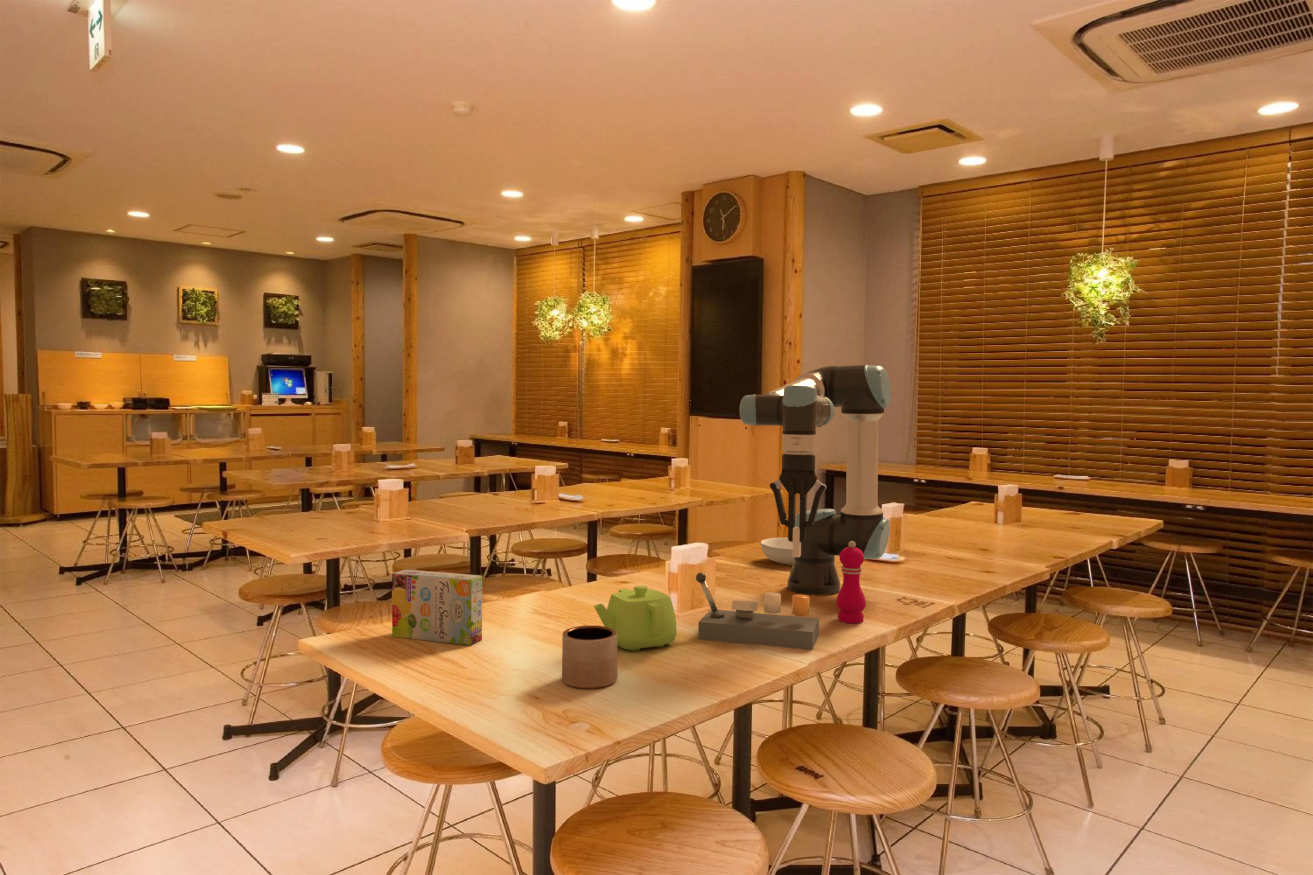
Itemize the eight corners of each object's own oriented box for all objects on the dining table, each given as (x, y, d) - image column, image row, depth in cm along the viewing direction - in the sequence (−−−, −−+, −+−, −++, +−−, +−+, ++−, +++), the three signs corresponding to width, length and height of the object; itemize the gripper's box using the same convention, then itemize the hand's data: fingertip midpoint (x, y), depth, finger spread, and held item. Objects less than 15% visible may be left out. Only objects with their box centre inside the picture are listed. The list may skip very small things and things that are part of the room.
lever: (712, 612, 197) (695, 573, 198) (721, 608, 197) (704, 570, 198) (709, 614, 195) (693, 575, 196) (718, 611, 194) (701, 572, 195)
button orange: (793, 610, 192) (793, 593, 192) (810, 612, 191) (810, 595, 191) (791, 615, 189) (791, 597, 188) (807, 616, 187) (808, 598, 187)
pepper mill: (866, 624, 204) (867, 544, 203) (836, 623, 205) (837, 542, 204) (864, 617, 211) (866, 539, 210) (835, 615, 212) (837, 538, 211)
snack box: (483, 639, 190) (483, 574, 189) (470, 646, 184) (470, 579, 184) (405, 630, 197) (404, 567, 196) (390, 637, 191) (389, 572, 191)
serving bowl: (759, 567, 272) (759, 546, 271) (761, 555, 292) (762, 536, 292) (824, 570, 268) (824, 549, 268) (822, 558, 289) (822, 538, 289)
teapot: (613, 663, 174) (613, 601, 173) (577, 638, 191) (577, 582, 191) (689, 651, 182) (690, 592, 181) (648, 628, 200) (648, 575, 199)
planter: (562, 672, 168) (562, 625, 167) (616, 670, 169) (616, 624, 168) (561, 691, 157) (561, 641, 156) (618, 689, 158) (618, 640, 157)
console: (711, 625, 203) (711, 601, 202) (818, 635, 195) (819, 610, 194) (698, 638, 191) (698, 613, 191) (812, 649, 183) (812, 623, 183)
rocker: (740, 609, 199) (741, 600, 199) (757, 610, 198) (757, 601, 198) (731, 609, 190) (732, 599, 190) (749, 610, 188) (749, 601, 189)
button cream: (765, 608, 194) (765, 591, 194) (781, 609, 193) (782, 592, 193) (762, 612, 190) (762, 595, 190) (779, 614, 189) (779, 596, 189)
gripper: (767, 453, 188) (765, 556, 188) (825, 454, 183) (823, 560, 184) (773, 451, 195) (771, 551, 196) (829, 453, 191) (827, 555, 191)
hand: (796, 556), depth 190 cm, fingers closed
